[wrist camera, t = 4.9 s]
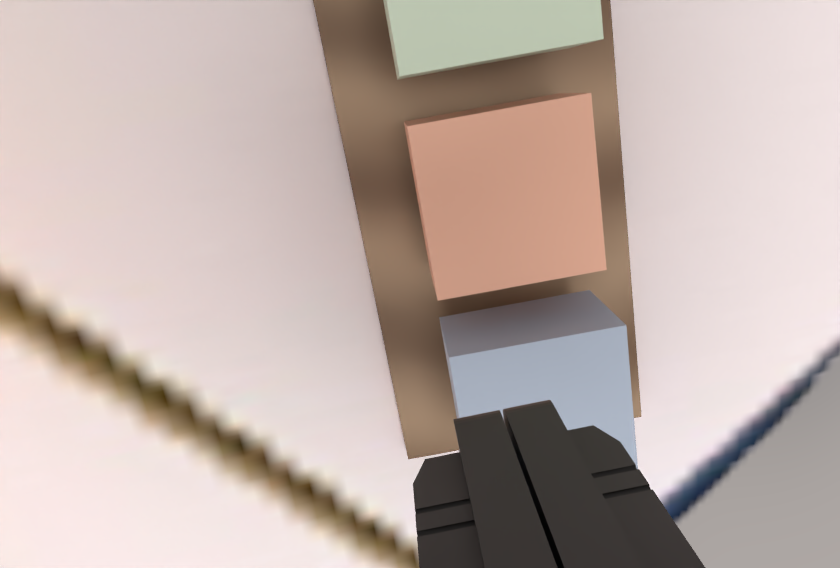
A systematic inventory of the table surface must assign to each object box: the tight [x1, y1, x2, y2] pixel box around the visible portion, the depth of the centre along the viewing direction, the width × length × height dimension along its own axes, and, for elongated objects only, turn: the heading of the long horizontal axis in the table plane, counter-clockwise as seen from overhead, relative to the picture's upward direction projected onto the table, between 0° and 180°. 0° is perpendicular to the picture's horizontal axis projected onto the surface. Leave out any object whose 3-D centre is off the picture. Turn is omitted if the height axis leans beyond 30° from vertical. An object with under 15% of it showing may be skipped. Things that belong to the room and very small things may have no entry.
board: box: [313, 0, 641, 459], centre depth 25 cm, size 24×11×3 cm, turn 10°
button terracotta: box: [404, 93, 607, 301], centre depth 23 cm, size 6×6×4 cm
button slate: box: [439, 290, 638, 470], centre depth 23 cm, size 6×6×4 cm
